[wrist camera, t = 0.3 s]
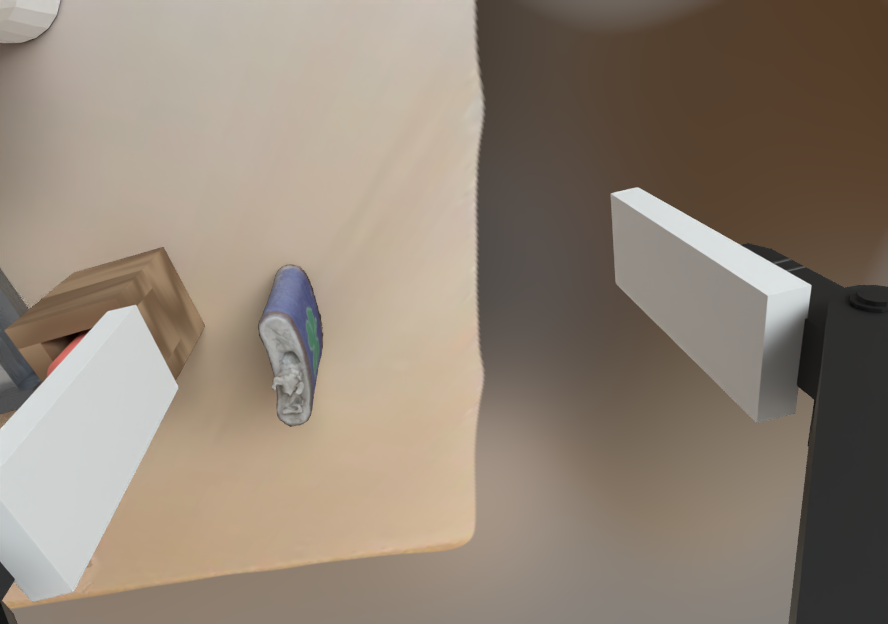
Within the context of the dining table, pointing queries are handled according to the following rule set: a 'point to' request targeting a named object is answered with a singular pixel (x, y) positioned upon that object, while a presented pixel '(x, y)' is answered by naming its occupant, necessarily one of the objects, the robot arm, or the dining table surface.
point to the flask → (292, 343)
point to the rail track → (13, 353)
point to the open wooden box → (108, 289)
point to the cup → (25, 19)
